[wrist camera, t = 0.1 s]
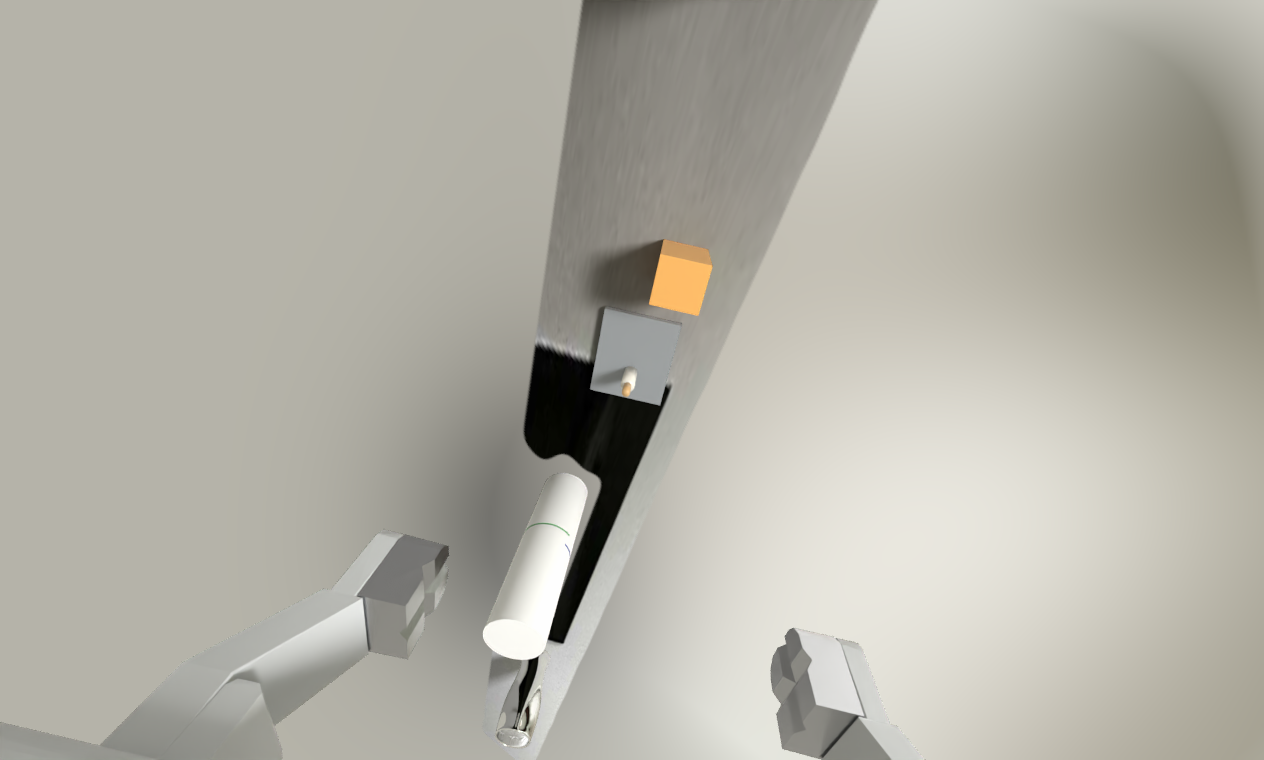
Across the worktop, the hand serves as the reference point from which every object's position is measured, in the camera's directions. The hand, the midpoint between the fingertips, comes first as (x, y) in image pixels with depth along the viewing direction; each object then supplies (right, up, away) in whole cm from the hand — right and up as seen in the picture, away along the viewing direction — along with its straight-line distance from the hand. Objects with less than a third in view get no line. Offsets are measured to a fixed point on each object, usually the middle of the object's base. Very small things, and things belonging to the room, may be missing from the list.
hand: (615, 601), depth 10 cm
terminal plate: (+1, +8, +50) cm, 50 cm away
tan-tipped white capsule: (0, +7, +50) cm, 51 cm away
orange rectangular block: (+6, +19, +44) cm, 48 cm away
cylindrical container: (-10, -13, +62) cm, 64 cm away
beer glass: (-20, -53, +83) cm, 100 cm away
